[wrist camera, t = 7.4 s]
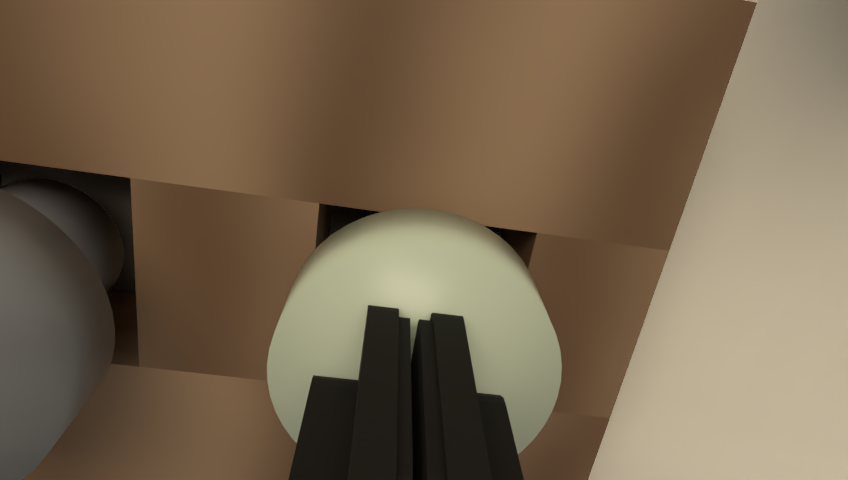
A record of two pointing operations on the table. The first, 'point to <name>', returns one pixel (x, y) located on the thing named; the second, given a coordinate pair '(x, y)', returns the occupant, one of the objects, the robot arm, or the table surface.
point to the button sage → (418, 311)
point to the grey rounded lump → (51, 314)
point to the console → (357, 183)
